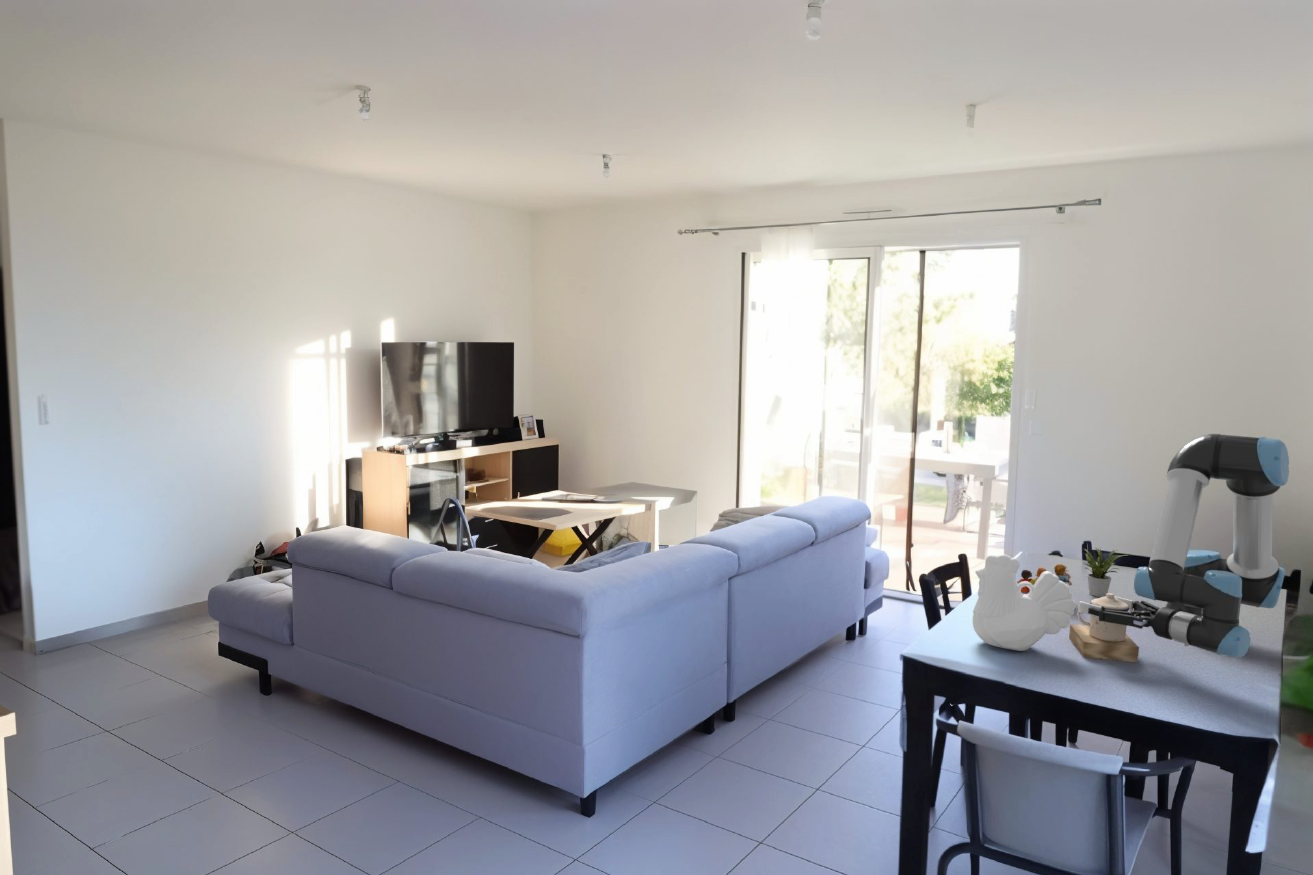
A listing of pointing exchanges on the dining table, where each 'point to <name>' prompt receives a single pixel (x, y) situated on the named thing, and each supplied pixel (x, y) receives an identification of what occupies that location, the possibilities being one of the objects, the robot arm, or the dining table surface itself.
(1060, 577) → the doll family
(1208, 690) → the dining table surface
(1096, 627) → the teacup with lid
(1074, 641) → the oak slab
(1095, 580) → the house plant
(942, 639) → the dining table surface
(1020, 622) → the decorative rooster
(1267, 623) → the dining table surface
